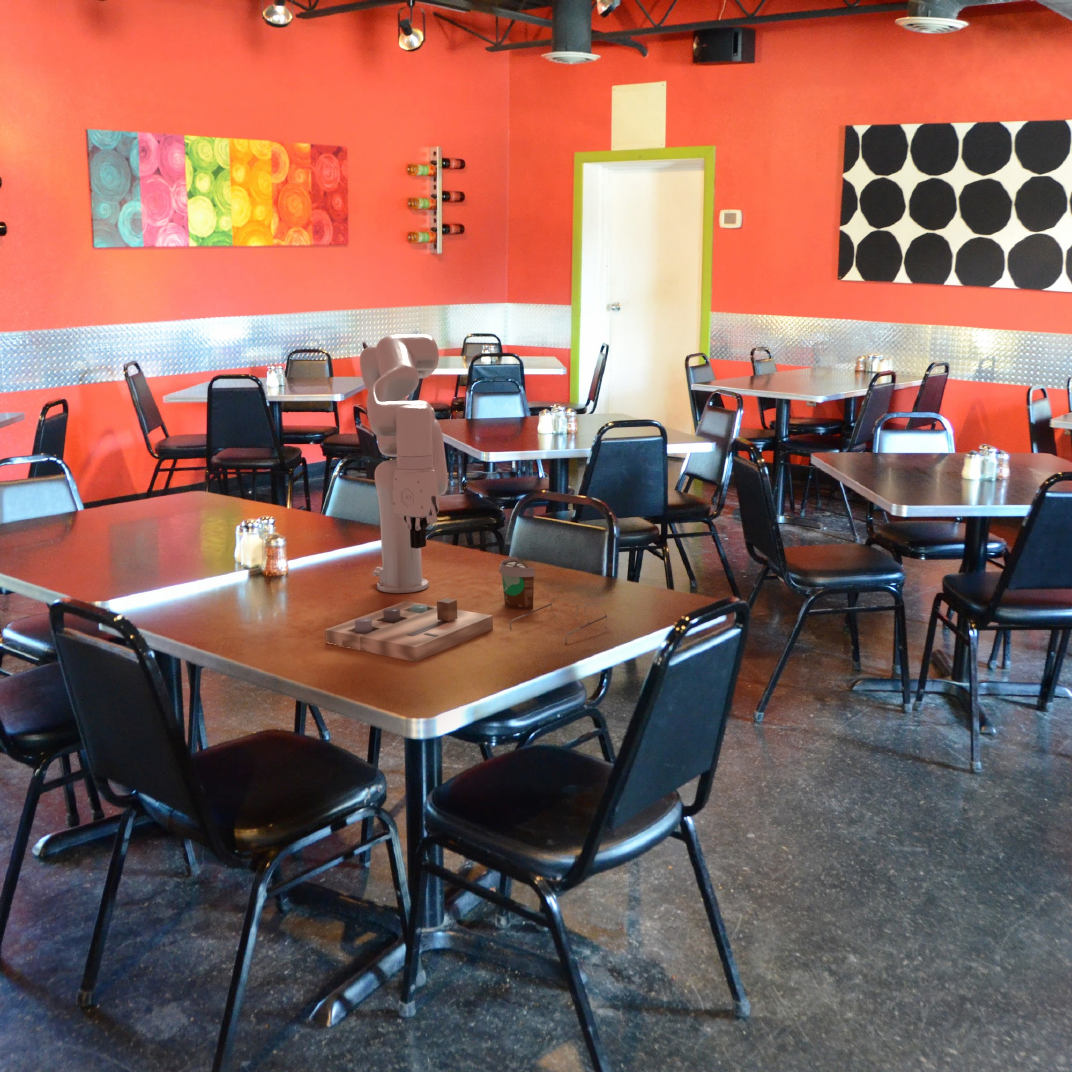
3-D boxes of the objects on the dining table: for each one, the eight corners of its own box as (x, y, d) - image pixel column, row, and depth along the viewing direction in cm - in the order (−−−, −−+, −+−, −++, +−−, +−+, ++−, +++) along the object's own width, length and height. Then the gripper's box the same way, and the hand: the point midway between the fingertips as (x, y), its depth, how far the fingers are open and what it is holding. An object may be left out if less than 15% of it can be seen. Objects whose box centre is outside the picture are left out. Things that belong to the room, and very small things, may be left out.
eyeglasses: (611, 629, 250) (611, 606, 249) (565, 645, 239) (565, 621, 238) (555, 616, 260) (554, 594, 259) (509, 631, 249) (508, 608, 248)
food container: (492, 600, 272) (491, 558, 270) (517, 597, 275) (516, 556, 272) (509, 613, 261) (508, 570, 259) (535, 610, 263) (534, 567, 261)
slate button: (351, 635, 240) (350, 621, 239) (363, 630, 243) (362, 617, 242) (364, 637, 238) (364, 623, 237) (376, 633, 241) (375, 619, 240)
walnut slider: (437, 619, 245) (436, 601, 244) (446, 616, 247) (445, 598, 247) (448, 621, 243) (448, 603, 243) (457, 618, 246) (456, 599, 245)
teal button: (407, 620, 255) (407, 607, 254) (418, 617, 258) (417, 603, 257) (420, 623, 253) (420, 609, 252) (430, 619, 256) (430, 606, 255)
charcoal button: (380, 624, 247) (379, 610, 246) (391, 620, 250) (390, 606, 249) (393, 626, 245) (392, 613, 245) (404, 622, 248) (403, 609, 247)
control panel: (326, 643, 241) (325, 629, 241) (406, 613, 262) (405, 600, 262) (416, 661, 228) (415, 646, 228) (493, 629, 249) (492, 615, 249)
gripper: (378, 462, 250) (381, 546, 253) (428, 468, 240) (431, 554, 244) (403, 458, 255) (406, 539, 259) (453, 463, 246) (455, 548, 250)
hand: (418, 546), depth 252 cm, fingers closed
